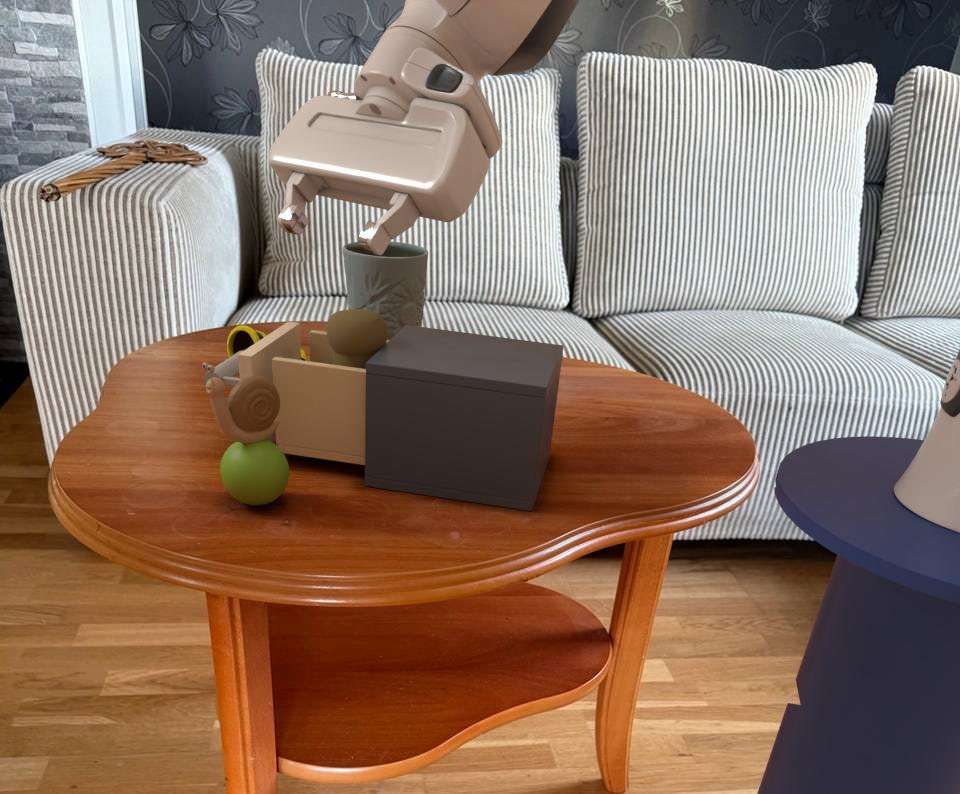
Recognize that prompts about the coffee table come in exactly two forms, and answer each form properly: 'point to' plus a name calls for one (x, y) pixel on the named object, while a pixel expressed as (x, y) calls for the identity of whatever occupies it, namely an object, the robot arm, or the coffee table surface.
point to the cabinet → (461, 416)
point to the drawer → (306, 394)
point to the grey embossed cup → (387, 283)
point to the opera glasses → (245, 340)
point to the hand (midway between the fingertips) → (326, 238)
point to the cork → (355, 336)
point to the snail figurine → (249, 438)
